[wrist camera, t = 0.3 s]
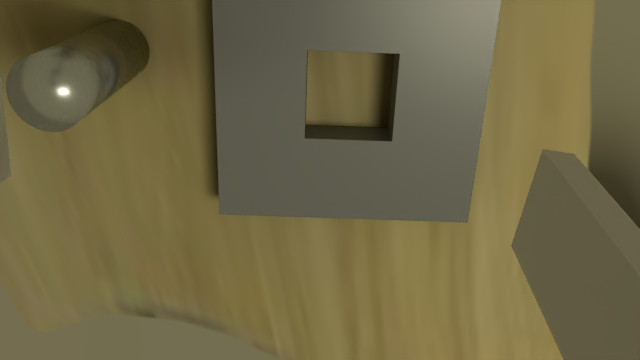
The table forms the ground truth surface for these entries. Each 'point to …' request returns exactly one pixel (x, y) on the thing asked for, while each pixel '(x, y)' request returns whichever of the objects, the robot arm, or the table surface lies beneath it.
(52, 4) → the table surface
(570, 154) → the robot arm
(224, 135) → the hole block
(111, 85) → the steel pin
